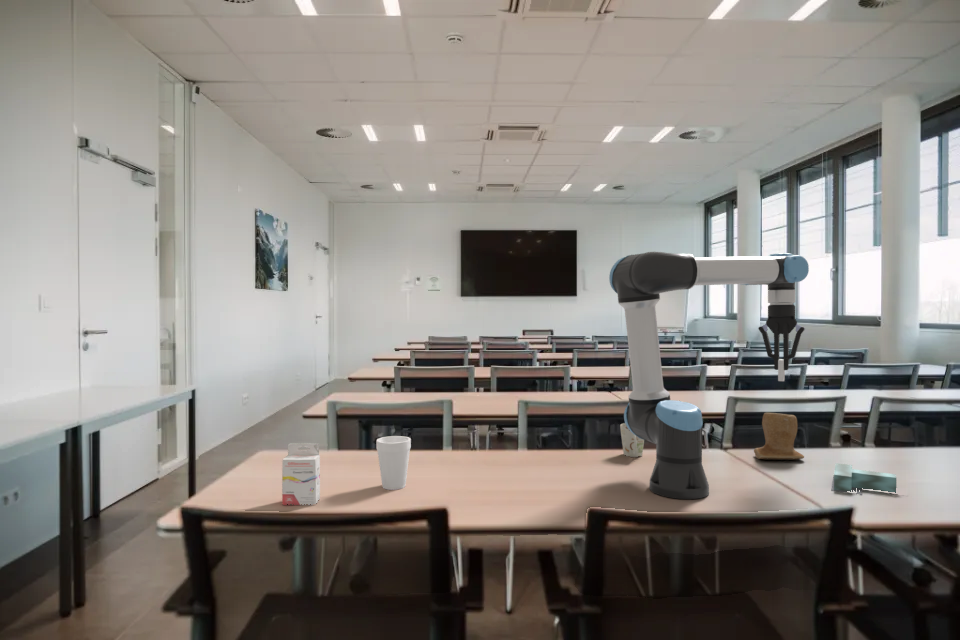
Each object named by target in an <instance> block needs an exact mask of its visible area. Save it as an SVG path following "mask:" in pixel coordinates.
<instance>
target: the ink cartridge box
mask: <svg viewBox="0 0 960 640" xmlns="http://www.w3.org/2000/svg"><path fill="white" fill-rule="evenodd" d="M303 447H304V448H306V449H301V448H303ZM281 462H282V465H281V466H282V468H281V471H282V472H281V473H282V474H281V475H282V479H281V480H282V481H281V483H282V484H281V485H282V486H281V487H282V489H281V492H282V493H281V496H282V497H281V499H282V500H281V502H282V503H281V504H283V505H282V506H314V505H313V504H316V503H319V501H320V498H321V472H320V471H321V455H320V444H319V443H318V442H317V443H315V442H314V443H312V442H311V443H309V442H308V443H304V442H303V443H301V442H300V443H299V442H298V443H297V442H295V443H288V444H287V455H286V456H285V457H284V458H282V461H281ZM318 500H319V501H318ZM287 504H288V505H287ZM290 504H292V505H290ZM293 504H294V505H293ZM301 504H302V505H301ZM304 504H305V505H304ZM306 504H308V505H306ZM310 504H311V505H310ZM316 505H317V504H316Z"/></svg>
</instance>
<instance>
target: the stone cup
mask: <svg viewBox="0 0 960 640" xmlns="http://www.w3.org/2000/svg"><path fill="white" fill-rule="evenodd" d="M761 426H762V429H763V434H764V440H765V444H764V445H763V446H761V447H755V448H754V449H753V453H754V456H755V457H756V459H758V460H769V461H770V460H772V461H774V460H775V461H778V460H779V461H780V460H781V461H782V460H783V461H784V460H785V461H786V460H801V459H805V455H803V454H802V453H800V452H798V451H797V450H796V449H795V447H794V446H795V445H794V444H795V439H796V437H797V433H798V418H797V416H796V415H794V414H787V413H776V412H764V413H763V415H762V420H761Z"/></svg>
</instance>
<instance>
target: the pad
mask: <svg viewBox="0 0 960 640" xmlns="http://www.w3.org/2000/svg"><path fill="white" fill-rule="evenodd" d="M853 490H854V491H855V492H856V488H855V487H852V492H853ZM859 490H860V492H859ZM830 491H831V492H836V493H837V492H838V493H843V492H847V491H842V490H835V489H834V474H833V477H832V482H831V488H830ZM861 492H862V493H861ZM857 494H860V495H859V496H863V490H862V488H857V493H856V494H855V495H857Z"/></svg>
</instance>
